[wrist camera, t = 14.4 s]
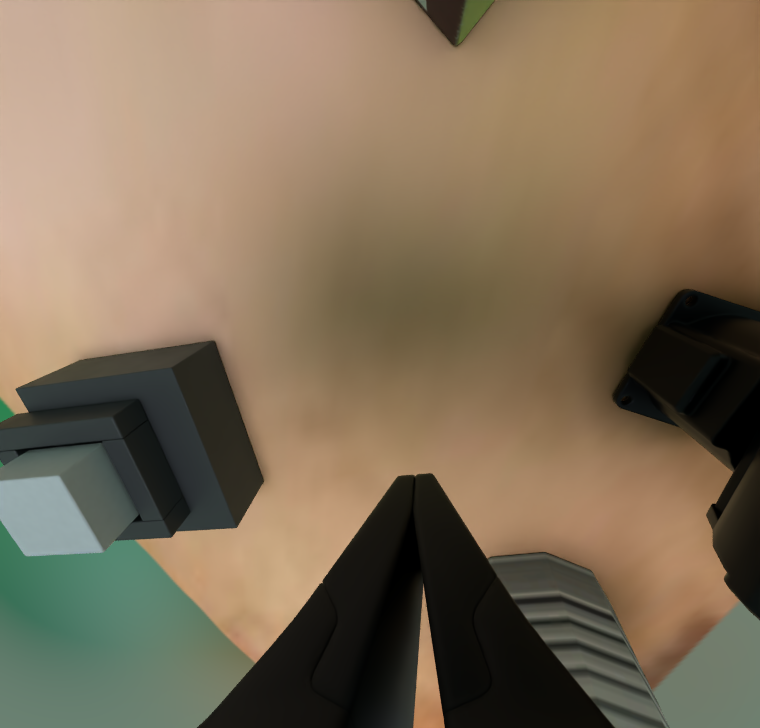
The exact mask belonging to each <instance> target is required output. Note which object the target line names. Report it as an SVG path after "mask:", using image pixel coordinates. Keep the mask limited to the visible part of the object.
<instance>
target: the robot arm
mask: <svg viewBox="0 0 760 728" xmlns="http://www.w3.org/2000/svg"><path fill="white" fill-rule="evenodd" d="M689 297H692V300H691V302H690V303H689V304H687V305H686V304H685V302H686V300H687V299H688V298H689ZM625 396H628V398H627V399H626V400H625V401H621V400H622V398H623V397H625ZM613 401H614V402H615V404H616V405H617V406H618V407H620V408H622V409H625V410H628V411H631V412H634V413H638V414H641V415H644V416H647V417H650V418H653V419H656V420H659V421H662V422H665V423H668V424H671V425H675V426H678V427H680V428H682V429H683V430H684V431H685V432H686V433H688V434H689V435H690V436H691V437H692V438H694V439H695V440H696V441H697V442H698V443H699V444H701V445H702V446H703V447H704V448H705V449H707V450H708V451H709V452H710V453H711V454H712V455H714V456H715V457H716V458H717V459H718V460H720V461H721V462H722V463H723V464H724V465H725V466H727V467H728V468H729V469H730V470H731V471H733V474H732V476H731V478H730V479H729V481H728V483H727V485H726V487H725V488H724V490H723V492H722V494H721V496H720V497H719V499H718V501H717V503H716V504H712V505H711V507H710V508H709V510H708V512H707V514H706V516H707V518H708V520H709V523H710V525H711V527H712V529H713V548H714V550H715V551H716V553H717V555H718V557H719V559H720V561H721V563H722V565H723V567H724V569H725V570H726V571H727V574H726V575H725V577H724V581H725V583H726V584H727V586H728V587H729V589H730V590H731V591H732V592H733V593H734V594H735V596H736V597H737V598H738V599H739V600H740V601H741V602H742V603H743V604H744V605H745V607H746V608H747V609H748V610H749V611H750V612H751V613H752V614H753V615H755V616H756V617H757V618H758V619H759V620H760V312H759V311H756V310H753V309H750V308H747V307H744V306H741V305H737V304H734V303H731V302H728V301H725V300H722V299H719V298H716V297H713V296H710V295H707V294H704V293H701V292H698V291H695V290H691V289H687V290H683V291H681V292H680V293H679V294H678V295H677V296H676V297H675V299H674V300H673V302H672V303H671V305H670V307H669V308H668V310H667V311H666V313H665V314H664V316H663V318H662V319H661V321H660V322H659V324H658V326H657V327H655V328H654V329H653V331H652V332H651V334H650V335H649V337H648V339H647V340H646V342H645V343H644V345H643V347H642V348H641V350H640V351H639V353H638V354H637V356H636V358H635V359H634V361H633V362H632V364H631V366H630V367H629V369H628V373H627V374H626V376H625V377H624V379H623V381H622V382H621V384H620V385H619V387H618V388H617V390H616V392H615V393H614V395H613ZM423 584H424V591H425V597H426V604H427V611H428V617H429V624H430V631H431V637H432V644H433V651H434V657H435V664H436V671H437V678H438V684H439V691H440V698H441V704H442V711H443V716H444V724H445V728H615V727H614V726H613V725H612V723H611V722H610V721H609V720H608V719H607V718H606V716H605V715H604V714H603V713H602V711H601V710H600V709H599V708H598V707H597V705H596V704H595V703H594V702H593V700H592V699H591V698H590V697H589V696H588V694H587V693H586V692H585V691H584V689H583V688H582V687H581V686H580V685H579V683H578V682H577V681H576V680H575V678H574V677H573V676H572V675H571V674H570V672H569V671H568V670H567V669H566V667H565V666H564V665H563V664H562V663H561V661H560V660H559V659H558V658H557V656H556V655H555V654H554V653H553V652H552V650H551V649H550V648H549V647H548V645H547V644H546V643H545V642H544V640H543V639H542V638H541V636H540V635H539V634H538V633H537V631H536V630H535V629H534V627H533V626H532V625H531V624H530V622H529V621H528V620H527V618H526V617H525V616H524V614H523V613H522V611H521V610H520V608H519V607H518V605H517V604H516V602H515V601H514V600H513V598H512V597H511V595H510V594H509V592H508V591H507V589H506V587H505V586H504V584H503V583H502V581H501V580H500V578H498V576H497V574H496V572H495V571H494V569H493V567H492V566H491V564H490V563H489V561H488V560H487V558H486V556H485V555H484V553H483V552H482V550H481V549H480V547H479V545H478V544H477V542H476V541H475V539H474V538H473V536H472V534H471V533H470V531H469V530H468V528H467V527H466V525H465V523H464V522H463V520H462V519H461V517H460V516H459V514H458V512H457V511H456V509H455V508H454V506H453V505H452V503H451V501H450V500H449V498H448V497H447V495H446V494H445V492H444V490H443V489H442V487H441V486H440V484H439V483H438V481H437V479H436V478H435V476H434V475H433V474H431V473H428V474H418V475H416V477H415V476H414V475H402V476H398V477H397V478H396V479H395V481H394V482H393V484H392V485H391V486H390V488H389V489H388V491H387V492H386V493H385V495H384V496H383V497H382V499H381V500H380V502H379V503H378V504H377V506H376V507H375V509H374V510H373V511H372V513H371V514H370V515H369V517H368V518H367V520H366V521H365V522H364V524H363V525H362V527H361V528H360V529H359V531H358V532H357V533H356V535H355V536H354V538H353V539H352V540H351V542H350V543H349V545H348V546H347V547H346V549H345V550H344V552H343V553H342V554H341V556H340V557H339V558H338V560H337V561H336V563H335V564H334V565H333V567H332V568H331V570H330V571H329V572H328V574H327V575H326V576H325V578H324V579H323V583H320V585H319V586H318V587H317V589H316V590H315V591H314V593H313V594H312V596H311V597H310V598H309V600H308V601H307V602H306V604H305V605H304V606H303V608H302V609H301V610H300V611H299V613H298V614H297V615H296V617H295V618H294V619H293V621H292V622H291V623H290V624H289V625H288V627H287V628H286V629H285V630H284V631H283V633H282V634H281V635H280V636H279V637H278V638H277V640H276V641H275V642H274V643H273V644H272V646H271V647H270V648H269V649H268V650H267V651H266V652H265V654H264V655H263V656H262V657H261V658H260V659H259V660H258V662H257V663H256V664H255V665H254V666H253V667H252V669H251V670H250V671H249V672H248V673H247V674H246V675H245V676H244V677H243V679H242V680H241V681H240V682H239V683H238V684H237V685H236V687H235V688H234V689H233V690H232V691H231V693H229V695H228V696H227V697H226V698H225V699H224V700H223V701H222V703H221V704H220V705H219V706H218V707H217V708H216V709H215V710H214V712H212V714H211V715H210V716H209V717H208V718H207V719H206V720H205V721H204V722H203V723H202V724H200V725H199V726H198V727H197V728H413V721H414V707H415V693H416V679H417V665H418V651H419V637H420V623H421V609H422V594H423Z"/></svg>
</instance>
